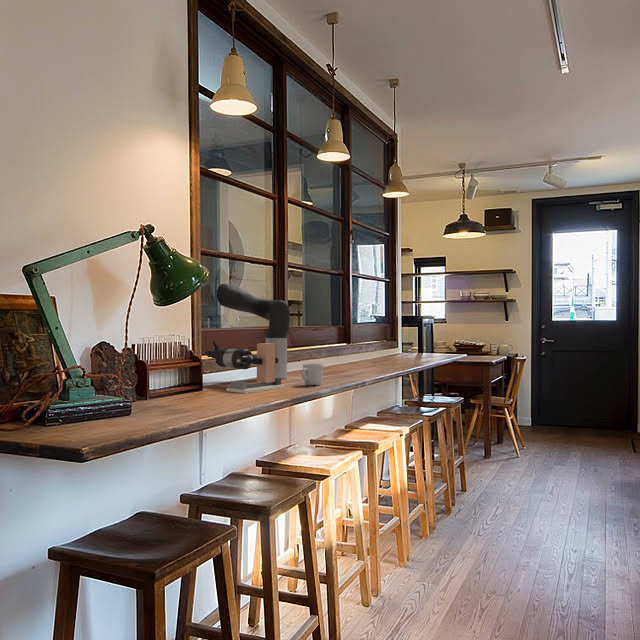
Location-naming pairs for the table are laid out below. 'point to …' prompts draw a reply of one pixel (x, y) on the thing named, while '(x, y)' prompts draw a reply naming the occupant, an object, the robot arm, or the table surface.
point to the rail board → (254, 386)
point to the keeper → (266, 362)
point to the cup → (312, 374)
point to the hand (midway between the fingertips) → (269, 361)
